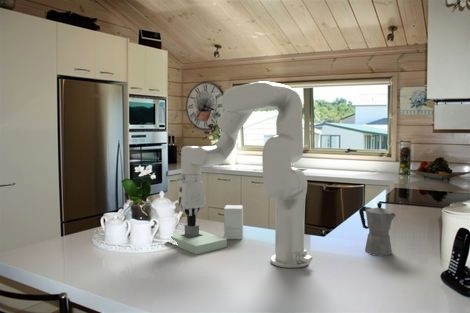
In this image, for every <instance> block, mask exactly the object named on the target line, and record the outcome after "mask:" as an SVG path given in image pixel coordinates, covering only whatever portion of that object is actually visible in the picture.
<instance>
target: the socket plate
mask: <svg viewBox="0 0 470 313" xmlns="http://www.w3.org/2000/svg"><path fill="white" fill-rule="evenodd" d="M174 233H175V234H174V235H173V236H171V238H172V239H173V240H175V241H176V242H177V244H178V248H180V249H182V250H185V251H187V252H190V253H192V254H194V255H199V254H200V255H201V254H204V253H208V252H211V251H216V250H220V249H224V248H227V247H228V239H225V237H222V236H218V235H215V234H214V233H210V232H207V231H204V230H200V229H199V237H194V238H186V237H185V230H184V231H179V232H174Z"/></svg>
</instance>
